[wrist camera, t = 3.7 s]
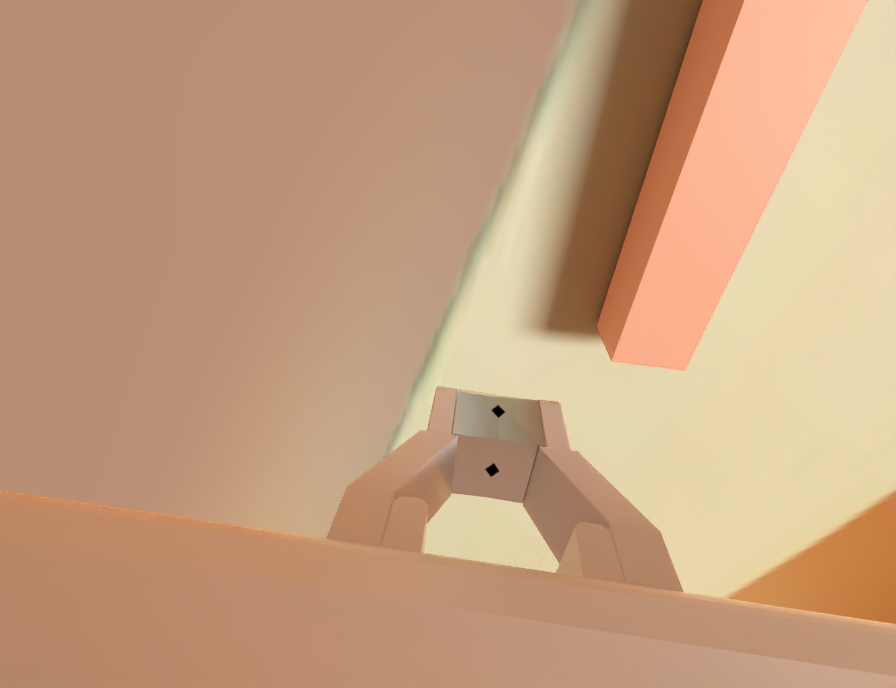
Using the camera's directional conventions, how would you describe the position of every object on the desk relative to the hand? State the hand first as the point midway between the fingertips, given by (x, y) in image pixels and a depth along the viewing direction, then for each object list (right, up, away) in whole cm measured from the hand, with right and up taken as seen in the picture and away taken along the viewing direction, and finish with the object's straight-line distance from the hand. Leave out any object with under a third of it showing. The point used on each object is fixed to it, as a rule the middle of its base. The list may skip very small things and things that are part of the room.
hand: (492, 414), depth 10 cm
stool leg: (+10, +10, +8) cm, 16 cm away
